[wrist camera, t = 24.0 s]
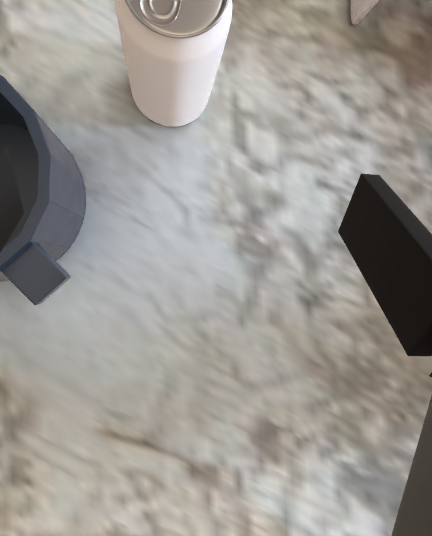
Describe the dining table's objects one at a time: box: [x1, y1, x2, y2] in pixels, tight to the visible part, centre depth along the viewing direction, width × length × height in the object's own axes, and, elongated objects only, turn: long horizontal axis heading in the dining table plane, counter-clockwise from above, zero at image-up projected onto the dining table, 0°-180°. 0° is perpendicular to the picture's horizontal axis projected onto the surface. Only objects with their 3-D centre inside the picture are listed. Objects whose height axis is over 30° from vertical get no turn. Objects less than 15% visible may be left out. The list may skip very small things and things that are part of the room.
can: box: [116, 0, 232, 127], centre depth 25 cm, size 6×6×12 cm
